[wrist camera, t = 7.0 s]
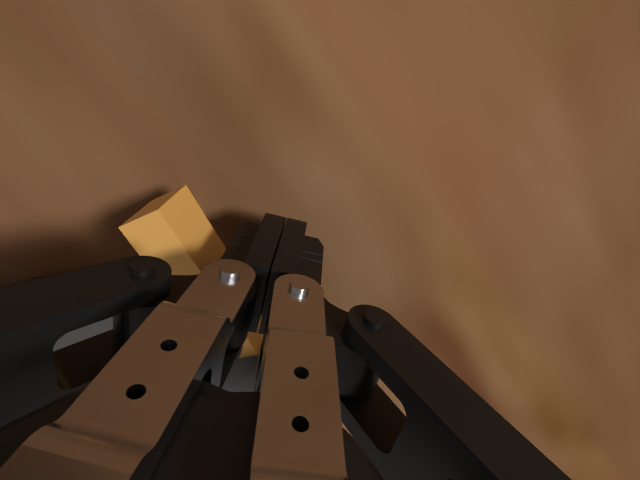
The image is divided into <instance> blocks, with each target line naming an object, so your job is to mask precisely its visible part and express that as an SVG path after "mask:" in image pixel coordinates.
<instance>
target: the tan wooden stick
mask: <svg viewBox="0 0 640 480" xmlns="http://www.w3.org/2000/svg"><path fill="white" fill-rule="evenodd" d="M118 228H119V229H120V231H121V232H122V233H123V235H124V236H125V237H126V239H127V240H128V241H129V242H130V244H131V245H132V246H133V248H134V249H135V250H136V252H137V253H138V254H139V256H153V257H157V258H160V259H162V260H164V261H166V262H167V263H168V264H169V265H170V266H171V269H172V275H198V274H200V273H201V271H202V270H203V269H204V268H205V266H206V265H207V264H209V263H210V262H213V261H215V260H220V259H221V257H222V256H223V254H224V252H225V250H226V248H225V246H224V244H223V243H222V241H221V240H220V238H219V237H218V235H217V233H216V232H215V230H214V229H213V227H212V225H211V224H210V222H209V221H208V219H207V218H206V216H205V214H204V213H203V211H202V210H201V208H200V207H199V205H198V203H197V202H196V200H195V199H194V197H193V195H192V194H191V192H190V191H189V189H188V188H187V186H186V185H184V186H182V187H180V188H178V189H176V190H173V191H171V192H169V193H167V194H165V195H163V196H160V197H158V198H156V199H154V200H152V201H151V202H149V203H148V204H147V205H146V206H144V207H143V208H142V209H141V210H139V211H138V212H137V213H136V214H134V215H133V216H132V217H131V218H129V219H128V220H127V221H126V222H124V223H123V224H122V225H121V226H119V227H118ZM261 317H262V315H261ZM260 322H261V319H260ZM260 322H259V325H258V329H257V332H256V333H253V332H248V335H247V338H246V340H245V342H244V343H243V347H242V352H241V354H240V357H239V359H238V361H237V363H236V366H235V368H234V370H233V373H232V375H231V377H230V379H229V382H228V384H227V386H226V388H225V390H227V391H230V392H253V389H254V383H255V377H256V371H257V364H258V358H259V353H260V348H261V344H262V339H263V334H259V333H258V331H259V326H260Z"/></svg>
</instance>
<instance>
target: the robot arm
mask: <svg viewBox="0 0 640 480" xmlns="http://www.w3.org/2000/svg"><path fill="white" fill-rule="evenodd" d="M285 221H286V224H285ZM306 225H307V222H303V221H299V220H294V219H290V218H287V220H286V217H281V216H277V215H273V214H269V213H266V214H265V216H264V218H263V221H262V223H261V225H257V224H252V223H246V224H245V225H243V226H241V227H239V228H238V230H237V231H236V233H235V235H234V237H233V238H232V240H231V242H230V243H229V245H228V247H227V249H226V250H225V252H224V254H223V256H222V257H221V259H220V260H215V261H213V262H210V263H209V264H207V265H206V266H205V268H204V269H203V270H202V271H201V273H200V274H198V275H172V269H171V266H170V265H169V264H168V263H167V262H166V261H164V260H162V259H160V258H157V257H153V256H132V257H127V258H123V259H119V260H115V261H111V262H107V263H103V264H99V265H95V266H91V267H87V268H83V269H79V270H75V271H71V272H66V273H62V274H58V275H54V276H50V277H46V278H42V279H38V280H34V281H30V282H26V283H22V284H18V285H14V286H10V287H6V288H1V289H0V480H384V479H385V480H571V479H570V478H569V477H568V476H567V475H566V474H565V473H564V472H562V471H561V470H560V469H559V468H558V467H557V466H556V465H555V464H554V463H553V462H551V461H550V460H549V459H548V458H547V457H546V456H545V455H544V454H543V453H542V452H540V451H539V450H538V449H537V448H536V447H535V446H534V445H533V444H532V443H531V442H529V441H528V440H527V439H526V438H525V437H524V436H523V435H522V434H521V433H520V432H519V431H517V430H516V429H515V428H514V427H513V426H512V425H511V424H510V423H509V422H508V421H506V420H505V419H504V418H503V417H502V416H501V415H500V414H499V413H498V412H497V411H495V410H494V409H493V408H492V407H491V406H490V405H489V404H488V403H487V402H486V401H484V400H483V399H482V398H481V397H480V396H479V395H478V394H477V393H476V392H475V391H473V390H472V389H471V388H470V387H469V386H468V385H467V384H466V383H465V382H464V381H463V380H461V379H460V378H459V377H458V376H457V375H456V374H455V373H454V372H453V371H452V370H450V369H449V368H448V367H447V366H446V365H445V364H444V363H443V362H442V361H441V360H439V359H438V358H437V357H436V356H435V355H434V354H433V353H432V352H431V351H430V350H428V349H427V348H426V347H425V346H424V345H423V344H422V343H421V342H420V341H419V340H418V339H416V338H415V337H414V336H413V335H412V334H411V333H410V332H409V331H408V330H407V329H405V328H404V327H403V326H402V325H401V324H400V323H399V322H398V321H397V320H396V319H394V318H393V317H392V316H391V315H390V314H389V313H387V312H386V311H384V310H382V309H380V308H378V307H375V306H371V305H357V306H354V307H353V308H351V309H350V310H349V312H346V311H344V310H341V309H339V308H337V307H335V306H334V305H332V304H331V303H329V302H328V301H327V300H326V299H325V298H324V292H323V289H322V287H321V274H322V261H323V248H324V247H323V245H322V244H321V242H320V241H319V239H317V238H313V237H309V236H305V230H306ZM284 226H285V227H284ZM261 315H262V317H261ZM110 317H113V329H112V330H109V331H106V332H104V333H101V334H98V335H96V336H93V337H90V338H88V339H85V340H82V341H80V342H77V343H74V344H72V345H69V346H66V347H64V348H61V349H58V350H56V351H53V347H54V345H55V343H56V342H57V341H58V339H59V338H61V337H62V336H63V335H65V334H67V333H68V332H71V331H73V330H76V329H79V328H82V327H85V326H88V325H90V324H93V323H96V322H99V321H102V320H105V319H107V318H110ZM260 319H261V322H260ZM259 322H260V326H259V331H258V333H259V334H263V339H262V344H261V348H260V353H259V358H258V364H257V371H256V377H255V383H254V389H253V392H230V391H227V390H225V388H226V386H227V384H228V382H229V379H230V377H231V375H232V373H233V370H234V368H235V366H236V363H237V361H238V359H239V357H240V354H241V352H242V347H243V343H244V342H245V340H246V338H247V335H248V332H253V333H256V332H257V329H258V325H259ZM379 378H380V379H381V380H382V381H383V382H384V383H385V385H386V386H387V387H388V388H389V389H390V390H391V391H392V392H393V393H394V394H395V396H396V397H397V398H398V399H399V400H400V401H401V403H402V404H403V406H404V409H405V411H406V416H405V415H404V414H403V413H402V412H401V411H400V409H399V408H398V407H397V406H396V405H395V404H394V403H393V402H392V400H391V399H390V398H389V397H388V396H387V395H386V394H385V392H384V391H383V390H382V389H381V388H380V387H379V386H378V385H377V382H378V379H379ZM342 422H343V424H344V425H345V426H346V428H347V429H348V430H349V432H350V433H351V434H352V436H353V437H354V438H353V437H352V436H351V435H350V434H349V433H348V432H347V431H346V430H345V429H343V428H342Z"/></svg>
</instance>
